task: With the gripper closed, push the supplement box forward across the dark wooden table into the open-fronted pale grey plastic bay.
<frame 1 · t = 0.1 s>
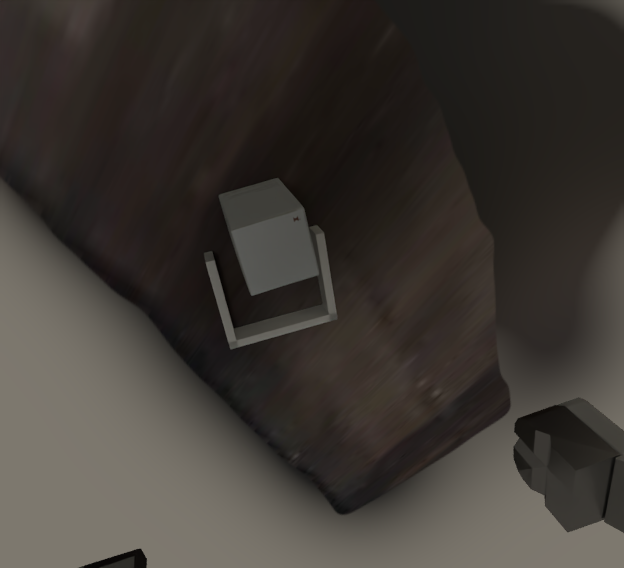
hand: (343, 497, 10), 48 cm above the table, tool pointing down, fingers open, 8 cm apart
bay: (271, 282, 61), on the table
supplement box: (255, 214, 57), on the table
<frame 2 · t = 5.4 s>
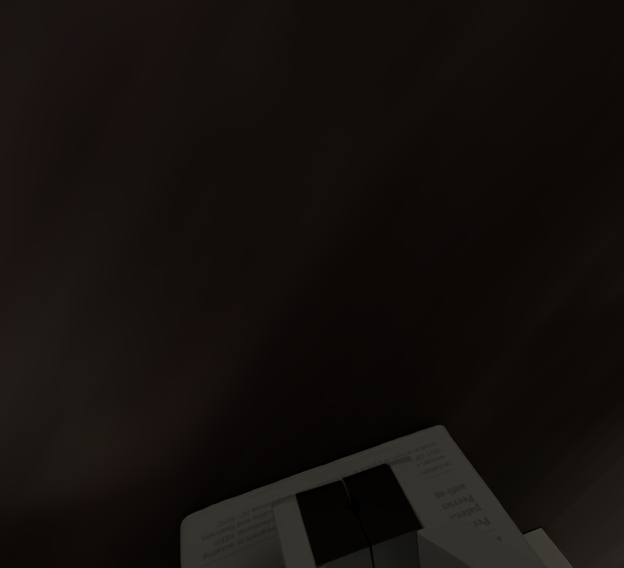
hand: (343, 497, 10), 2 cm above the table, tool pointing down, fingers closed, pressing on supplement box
supplement box: (335, 543, 14), on the table, touching gripper
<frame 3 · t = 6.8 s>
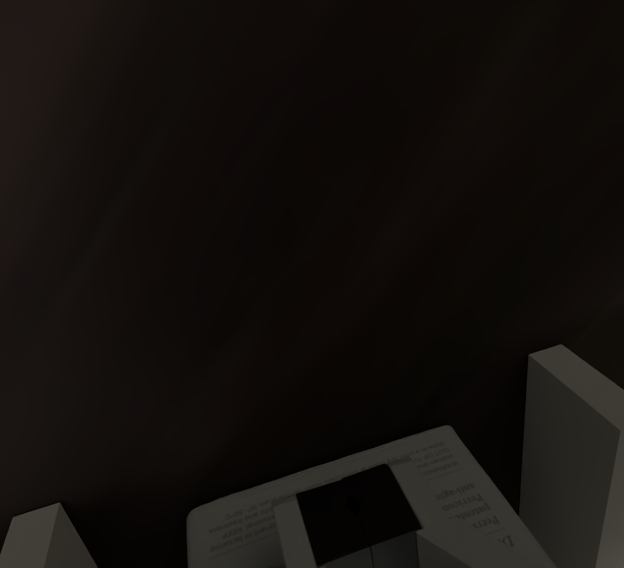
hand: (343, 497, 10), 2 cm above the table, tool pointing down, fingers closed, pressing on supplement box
supplement box: (337, 542, 14), on the table, touching gripper
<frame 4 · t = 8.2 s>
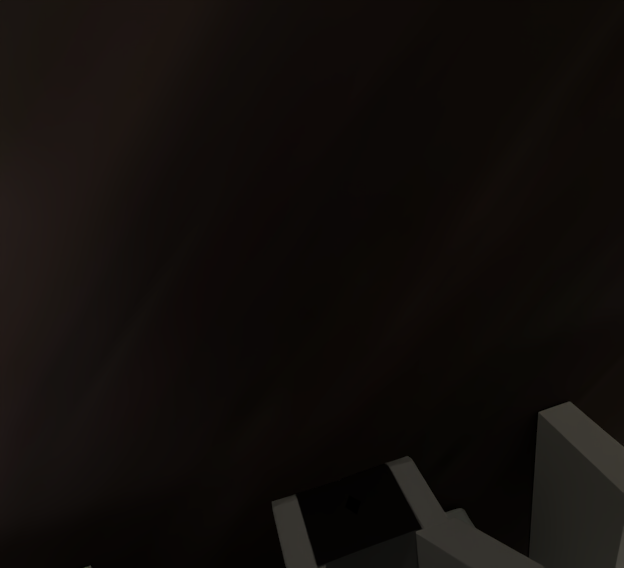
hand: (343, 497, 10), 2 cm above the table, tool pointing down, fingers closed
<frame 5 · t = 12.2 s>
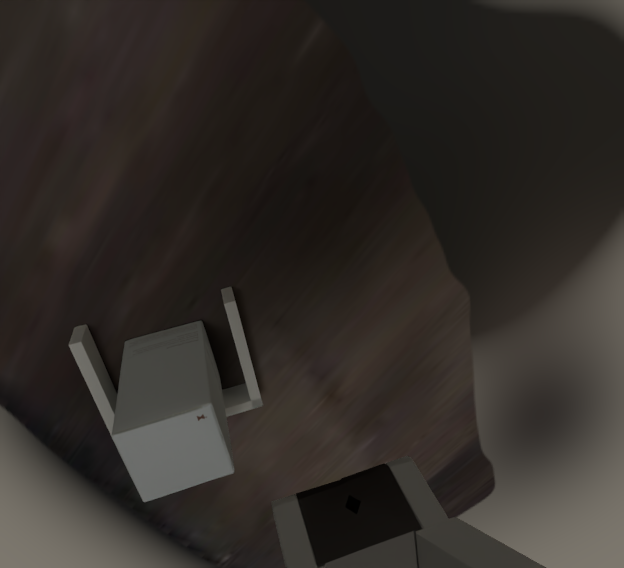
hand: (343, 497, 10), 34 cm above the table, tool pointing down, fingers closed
bay: (174, 359, 46), on the table
supplement box: (174, 359, 47), on the table
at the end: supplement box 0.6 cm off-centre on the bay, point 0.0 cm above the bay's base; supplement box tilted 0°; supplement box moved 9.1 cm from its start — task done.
